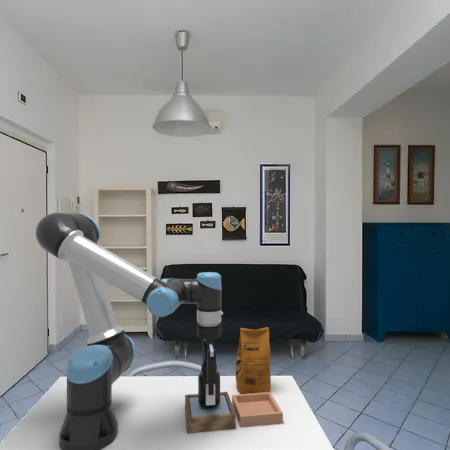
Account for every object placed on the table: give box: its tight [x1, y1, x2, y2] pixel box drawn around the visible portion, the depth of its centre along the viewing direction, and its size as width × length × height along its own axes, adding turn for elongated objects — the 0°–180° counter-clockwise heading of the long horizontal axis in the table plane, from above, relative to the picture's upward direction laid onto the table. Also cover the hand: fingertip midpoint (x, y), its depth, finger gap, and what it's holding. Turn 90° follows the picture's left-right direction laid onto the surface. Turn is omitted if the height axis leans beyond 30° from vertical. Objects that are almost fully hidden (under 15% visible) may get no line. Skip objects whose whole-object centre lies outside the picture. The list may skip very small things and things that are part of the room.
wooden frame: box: [184, 391, 237, 434], centre depth 103 cm, size 14×14×4 cm
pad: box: [189, 395, 230, 417], centre depth 103 cm, size 11×11×1 cm
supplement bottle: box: [197, 361, 221, 408], centre depth 103 cm, size 7×7×12 cm
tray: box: [231, 391, 284, 428], centre depth 106 cm, size 13×13×3 cm
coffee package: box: [235, 327, 272, 394], centre depth 122 cm, size 10×12×22 cm
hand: (209, 397), depth 103 cm, fingers closed on supplement bottle, 7 cm apart
